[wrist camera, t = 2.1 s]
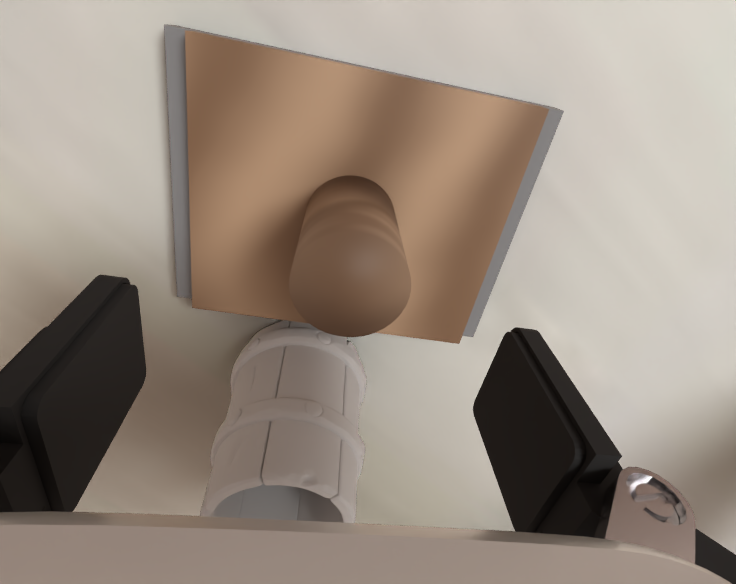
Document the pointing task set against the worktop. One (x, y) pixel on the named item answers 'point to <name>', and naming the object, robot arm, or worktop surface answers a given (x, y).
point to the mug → (290, 429)
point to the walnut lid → (345, 190)
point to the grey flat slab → (178, 61)
